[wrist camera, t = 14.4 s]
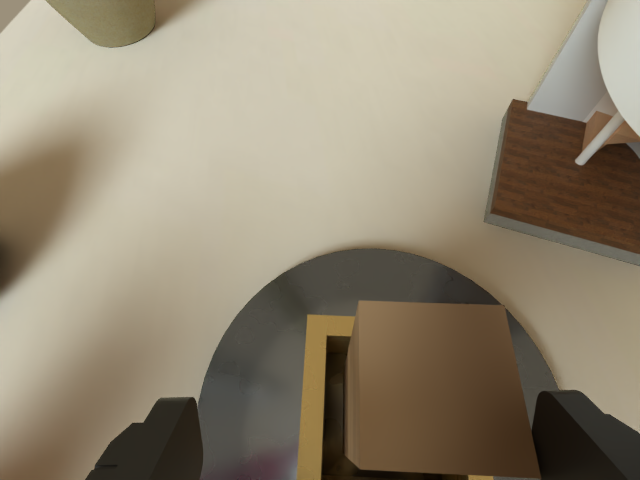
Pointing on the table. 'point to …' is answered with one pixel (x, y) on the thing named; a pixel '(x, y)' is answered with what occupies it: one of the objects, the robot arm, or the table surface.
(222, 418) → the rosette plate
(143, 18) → the plant pot
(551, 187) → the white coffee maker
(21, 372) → the table surface
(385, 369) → the tall tan wooden block
